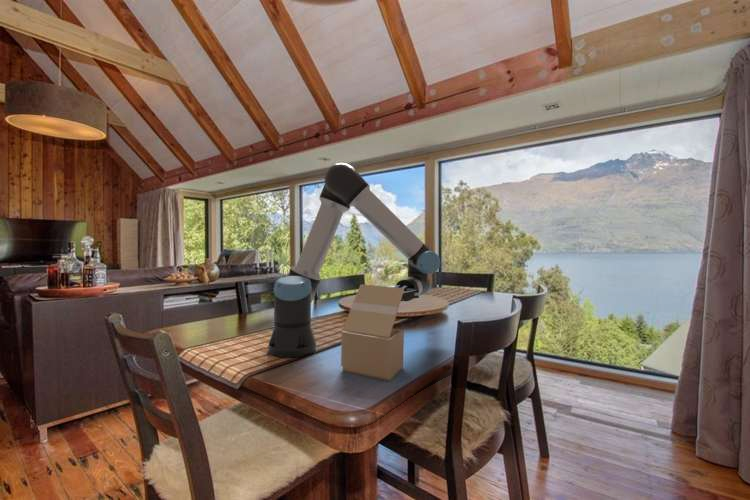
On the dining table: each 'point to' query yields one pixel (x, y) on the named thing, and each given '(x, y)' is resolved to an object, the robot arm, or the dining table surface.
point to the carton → (372, 354)
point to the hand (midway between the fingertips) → (380, 300)
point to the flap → (374, 310)
